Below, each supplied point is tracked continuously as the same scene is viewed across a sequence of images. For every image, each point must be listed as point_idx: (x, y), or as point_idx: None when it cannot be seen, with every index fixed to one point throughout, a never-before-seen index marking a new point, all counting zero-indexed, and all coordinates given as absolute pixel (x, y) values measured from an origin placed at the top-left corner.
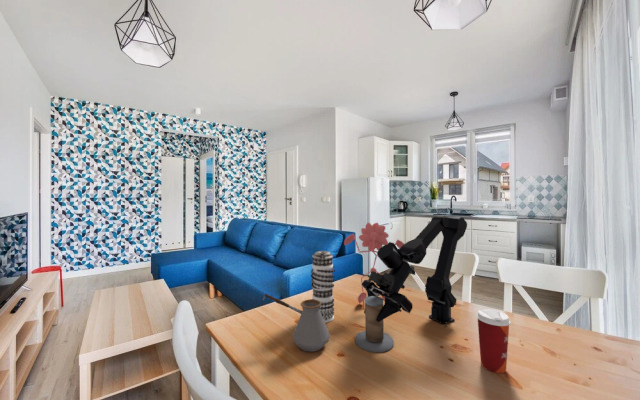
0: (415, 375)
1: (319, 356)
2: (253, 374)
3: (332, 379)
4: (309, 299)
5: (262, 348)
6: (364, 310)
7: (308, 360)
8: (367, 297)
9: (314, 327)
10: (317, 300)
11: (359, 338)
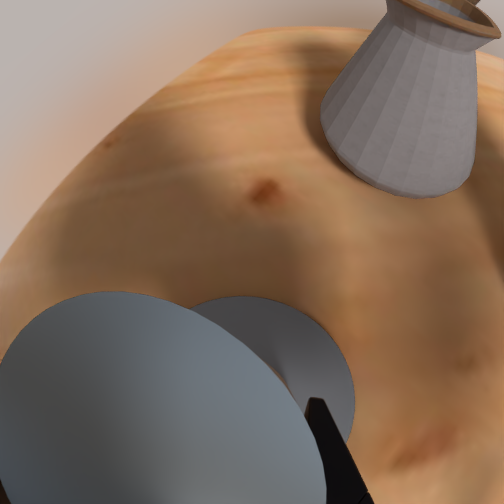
0: (20, 317)
1: (304, 131)
2: (323, 29)
3: (184, 112)
4: (496, 25)
5: None
6: (329, 412)
7: (305, 102)
8: (297, 485)
9: (354, 56)
10: (476, 25)
11: (303, 346)
